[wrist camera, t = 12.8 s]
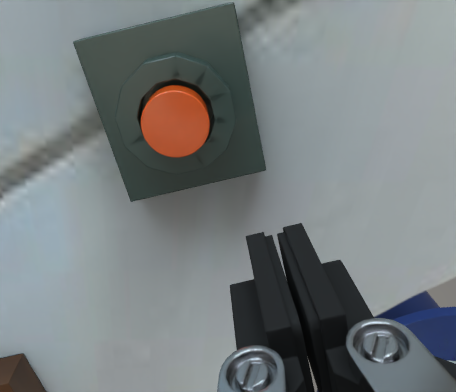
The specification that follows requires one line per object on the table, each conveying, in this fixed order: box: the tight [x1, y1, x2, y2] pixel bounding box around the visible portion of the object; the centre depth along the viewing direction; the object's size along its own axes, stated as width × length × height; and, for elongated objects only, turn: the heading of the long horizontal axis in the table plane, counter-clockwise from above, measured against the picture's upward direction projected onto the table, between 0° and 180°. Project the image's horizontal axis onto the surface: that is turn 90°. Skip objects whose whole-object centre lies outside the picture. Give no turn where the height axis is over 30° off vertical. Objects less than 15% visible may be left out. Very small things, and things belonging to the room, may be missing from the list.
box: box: [73, 3, 266, 202], centre depth 24 cm, size 10×9×4 cm
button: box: [141, 85, 210, 158], centre depth 22 cm, size 4×4×2 cm
